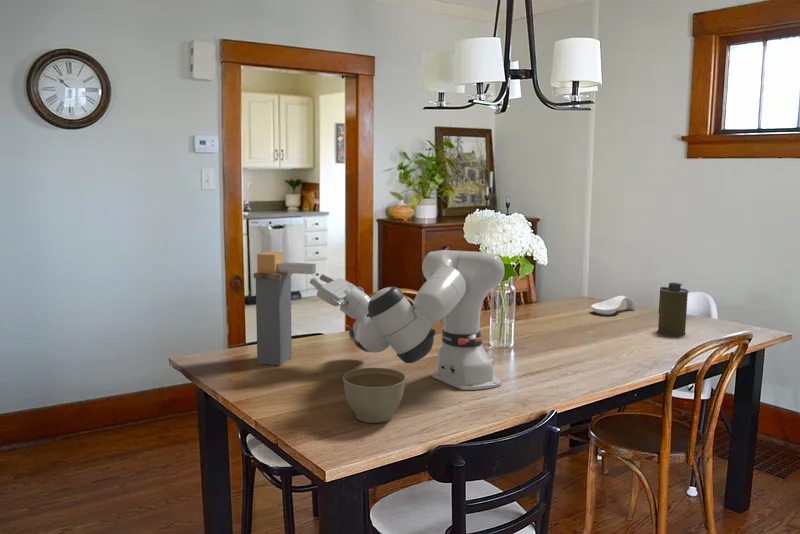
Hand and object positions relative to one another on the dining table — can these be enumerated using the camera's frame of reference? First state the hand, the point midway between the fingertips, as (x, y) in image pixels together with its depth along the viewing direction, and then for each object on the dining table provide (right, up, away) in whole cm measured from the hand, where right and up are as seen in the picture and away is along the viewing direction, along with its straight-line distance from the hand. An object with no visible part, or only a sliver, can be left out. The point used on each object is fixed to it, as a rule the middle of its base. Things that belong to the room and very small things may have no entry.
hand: (316, 278), depth 222 cm
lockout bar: (-9, +2, +2) cm, 10 cm away
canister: (+135, -23, +53) cm, 147 cm away
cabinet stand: (-15, -28, +7) cm, 32 cm away
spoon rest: (+124, -17, +91) cm, 154 cm away
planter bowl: (+20, -36, -43) cm, 60 cm away
